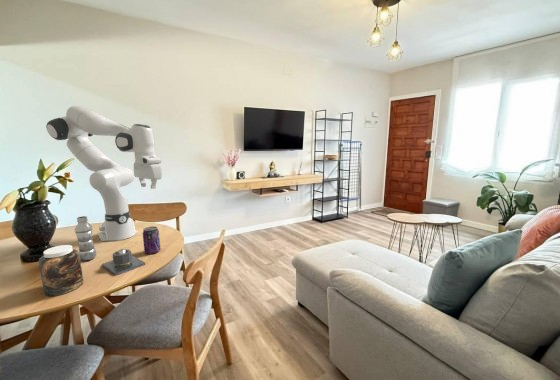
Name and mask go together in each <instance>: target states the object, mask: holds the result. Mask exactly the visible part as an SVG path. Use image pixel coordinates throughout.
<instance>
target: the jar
mask: <svg viewBox="0 0 560 380" xmlns="http://www.w3.org/2000/svg"><path fill="white" fill-rule="evenodd" d="M38 266H39V272H40V279H41V285H42V289H43V295H45V296H47V295H48V297H54V296H55V297H56V296H62V295H65V294H69V293H70V292H73V291H75V290H77V289H79V288H80V287H81V286H82V285H84V284H83V283H84V276H83V270H82V264H81V259H80V257H79V250H78V249H75V248H73V245H71V244H61V245H55V246H53V247H48V248H47V249H45V250H44V251H43V255H42V256H41V257H40V258H39V259H38Z"/></svg>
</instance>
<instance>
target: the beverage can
mask: <svg viewBox="0 0 560 380" xmlns="http://www.w3.org/2000/svg"><path fill="white" fill-rule="evenodd" d="M142 239H143V240H142V241H143V249H144V250H143V251H144V253H145V254H148V255H151V254H156V253H158V252H159V251H161V241H160V231H159V229H158V226H155V225H154V226H153V225H151V226H148V227H144V228H143V230H142Z"/></svg>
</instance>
